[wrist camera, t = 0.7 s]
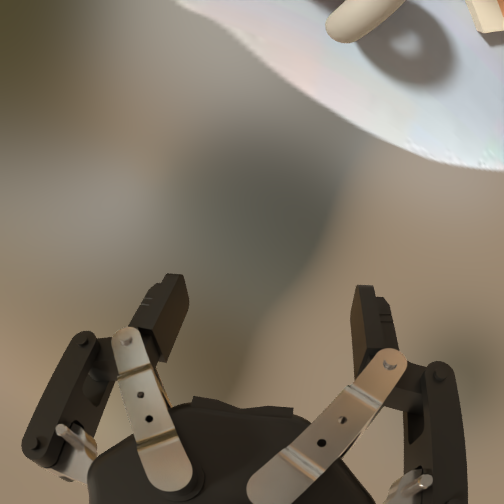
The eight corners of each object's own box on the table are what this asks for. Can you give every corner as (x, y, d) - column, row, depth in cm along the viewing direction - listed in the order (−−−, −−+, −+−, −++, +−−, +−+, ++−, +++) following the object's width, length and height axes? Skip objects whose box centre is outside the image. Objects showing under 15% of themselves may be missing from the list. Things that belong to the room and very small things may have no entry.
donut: (380, -31, 19) (397, -43, 12) (404, -9, 20) (430, -11, 13) (319, 23, 26) (314, 30, 19) (344, 43, 27) (347, 59, 20)
